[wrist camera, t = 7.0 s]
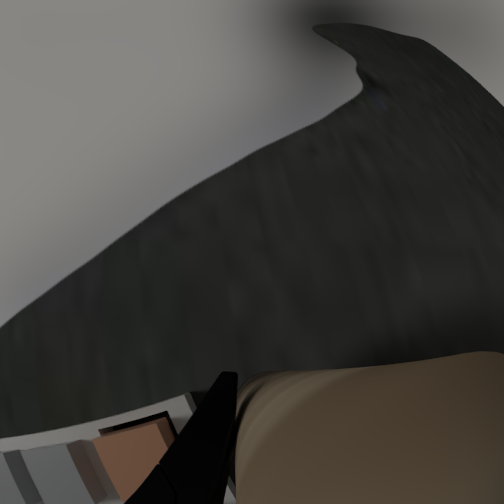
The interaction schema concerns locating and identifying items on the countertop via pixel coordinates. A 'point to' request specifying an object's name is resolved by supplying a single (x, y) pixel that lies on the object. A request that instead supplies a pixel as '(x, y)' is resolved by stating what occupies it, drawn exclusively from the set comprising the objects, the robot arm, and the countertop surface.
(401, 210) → the countertop surface
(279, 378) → the tan banded cylinder
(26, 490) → the keypad
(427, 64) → the countertop surface
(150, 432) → the terracotta key
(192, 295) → the countertop surface
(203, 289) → the countertop surface
